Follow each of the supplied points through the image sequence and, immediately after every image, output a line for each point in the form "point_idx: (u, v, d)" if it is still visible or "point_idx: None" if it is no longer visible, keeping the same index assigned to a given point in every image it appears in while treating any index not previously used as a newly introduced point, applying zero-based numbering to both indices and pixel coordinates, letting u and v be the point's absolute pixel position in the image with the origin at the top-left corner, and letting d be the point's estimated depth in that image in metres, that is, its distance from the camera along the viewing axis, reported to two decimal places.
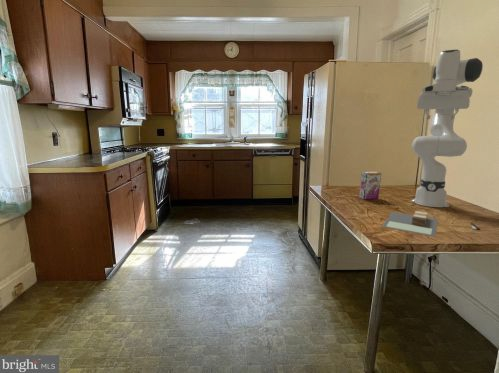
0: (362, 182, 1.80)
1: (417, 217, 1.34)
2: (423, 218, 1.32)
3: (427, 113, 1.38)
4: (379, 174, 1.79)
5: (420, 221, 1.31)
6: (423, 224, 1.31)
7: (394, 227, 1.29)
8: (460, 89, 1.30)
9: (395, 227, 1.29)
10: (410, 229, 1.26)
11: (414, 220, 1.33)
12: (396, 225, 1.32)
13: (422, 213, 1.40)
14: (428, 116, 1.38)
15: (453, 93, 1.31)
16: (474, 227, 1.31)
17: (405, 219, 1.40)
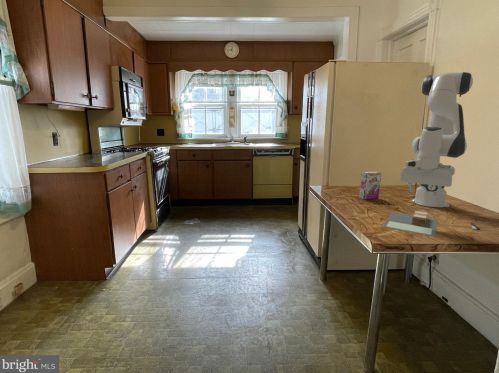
0: (362, 182, 1.80)
1: (417, 217, 1.34)
2: (423, 218, 1.32)
3: (410, 187, 1.37)
4: (379, 174, 1.79)
5: (420, 221, 1.31)
6: (423, 224, 1.31)
7: (394, 227, 1.29)
8: (443, 167, 1.29)
9: (395, 227, 1.29)
10: (410, 229, 1.26)
11: (414, 220, 1.33)
12: (396, 225, 1.32)
13: (422, 213, 1.40)
14: (411, 190, 1.37)
15: (436, 170, 1.29)
16: (474, 227, 1.31)
17: (405, 219, 1.40)
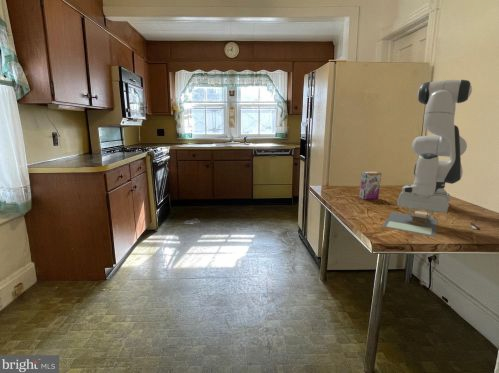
0: (362, 182, 1.80)
1: (417, 217, 1.34)
2: (423, 218, 1.32)
3: (411, 212, 1.38)
4: (379, 174, 1.79)
5: (420, 221, 1.31)
6: (423, 224, 1.31)
7: (394, 227, 1.29)
8: (439, 193, 1.31)
9: (395, 227, 1.29)
10: (410, 229, 1.26)
11: (414, 220, 1.33)
12: (396, 225, 1.32)
13: (422, 213, 1.40)
14: (412, 215, 1.39)
15: (432, 197, 1.32)
16: (474, 227, 1.31)
17: (405, 219, 1.40)
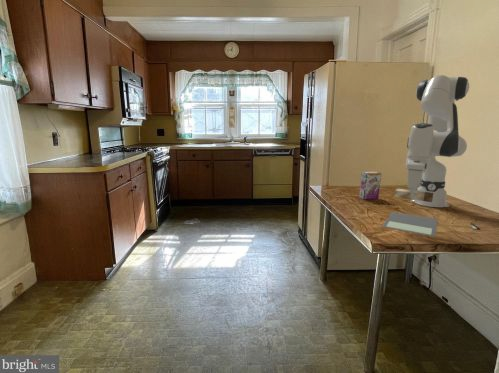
0: (362, 182, 1.80)
1: (427, 193, 1.22)
2: (428, 192, 1.24)
3: None
4: (379, 174, 1.79)
5: None
6: (432, 198, 1.24)
7: (394, 227, 1.29)
8: None
9: (395, 227, 1.29)
10: (410, 229, 1.26)
11: (432, 197, 1.21)
12: (396, 225, 1.32)
13: (404, 190, 1.28)
14: None
15: None
16: (474, 227, 1.31)
17: (405, 219, 1.40)
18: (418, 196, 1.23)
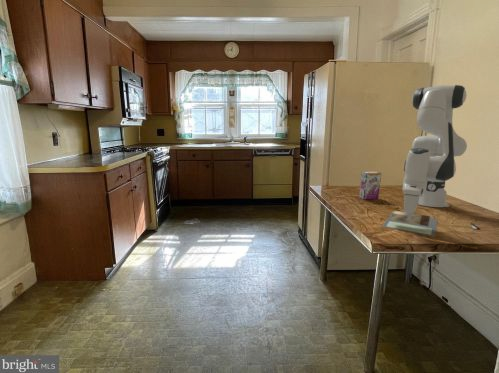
0: (362, 182, 1.80)
1: (424, 217, 1.24)
2: (424, 216, 1.26)
3: None
4: (379, 174, 1.79)
5: None
6: None
7: (394, 227, 1.29)
8: None
9: (395, 227, 1.29)
10: (410, 229, 1.26)
11: (428, 221, 1.23)
12: (396, 225, 1.32)
13: (401, 212, 1.30)
14: (411, 218, 1.25)
15: None
16: (474, 227, 1.32)
17: None
18: (415, 220, 1.25)
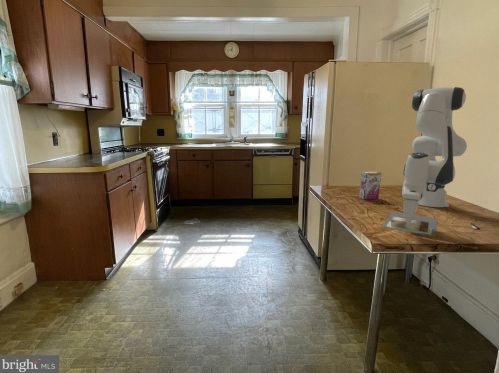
0: (362, 182, 1.80)
1: (423, 223, 1.25)
2: (423, 222, 1.27)
3: (411, 220, 1.23)
4: (379, 174, 1.79)
5: None
6: None
7: (394, 227, 1.29)
8: None
9: (395, 227, 1.29)
10: (410, 229, 1.26)
11: None
12: None
13: (400, 218, 1.31)
14: None
15: None
16: (474, 227, 1.32)
17: None
18: (414, 226, 1.25)
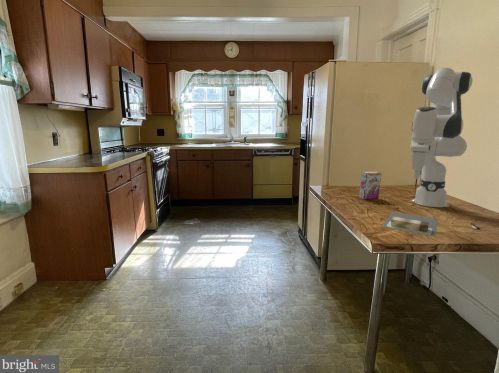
0: (362, 182, 1.80)
1: (423, 223, 1.25)
2: (423, 222, 1.27)
3: (420, 173, 1.27)
4: (379, 174, 1.79)
5: None
6: None
7: (394, 227, 1.29)
8: None
9: (395, 227, 1.29)
10: (410, 229, 1.26)
11: None
12: None
13: (400, 218, 1.31)
14: None
15: None
16: (474, 227, 1.32)
17: None
18: (414, 226, 1.25)
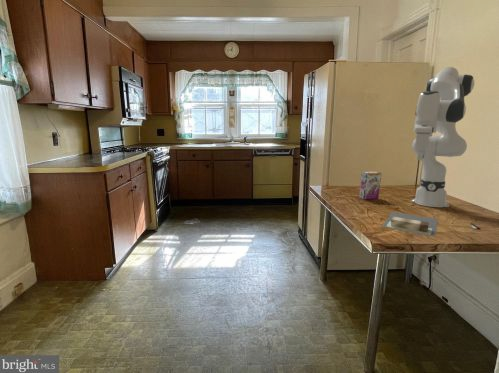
0: (362, 182, 1.80)
1: (423, 223, 1.25)
2: (423, 222, 1.27)
3: (423, 154, 1.30)
4: (379, 174, 1.79)
5: None
6: None
7: (394, 227, 1.29)
8: None
9: (395, 227, 1.29)
10: (410, 229, 1.26)
11: None
12: None
13: (400, 218, 1.31)
14: (422, 157, 1.31)
15: None
16: (474, 227, 1.32)
17: None
18: (414, 226, 1.25)
